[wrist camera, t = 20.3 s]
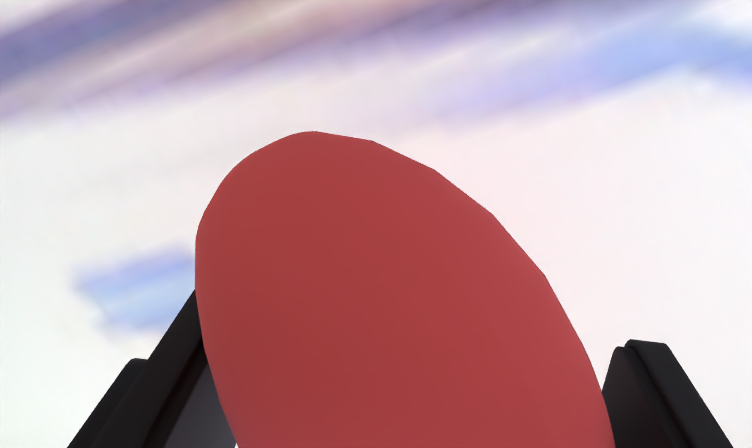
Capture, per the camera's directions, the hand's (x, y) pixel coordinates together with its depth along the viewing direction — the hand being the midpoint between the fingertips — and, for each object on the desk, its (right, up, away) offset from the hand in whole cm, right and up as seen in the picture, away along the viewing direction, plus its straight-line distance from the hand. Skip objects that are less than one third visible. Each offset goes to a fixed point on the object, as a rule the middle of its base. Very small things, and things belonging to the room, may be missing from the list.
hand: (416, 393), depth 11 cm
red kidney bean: (0, 0, +1) cm, 1 cm away
